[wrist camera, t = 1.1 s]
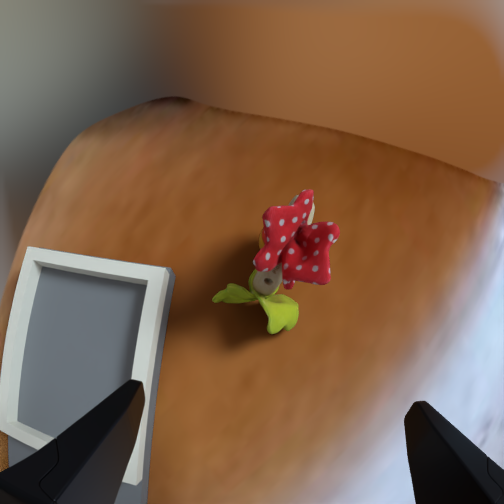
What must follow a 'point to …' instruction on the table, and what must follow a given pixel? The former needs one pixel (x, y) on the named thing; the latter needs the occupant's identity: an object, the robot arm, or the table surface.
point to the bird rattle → (286, 260)
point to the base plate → (82, 350)
